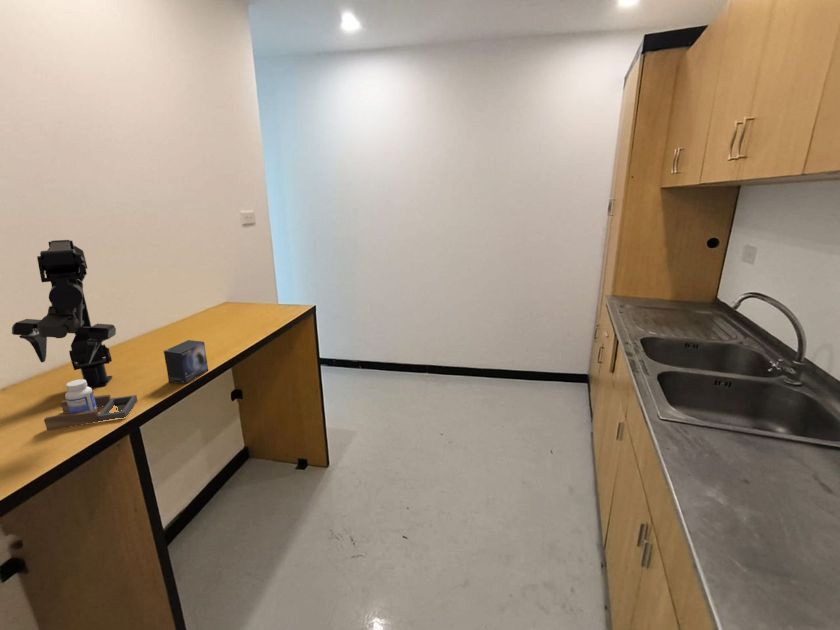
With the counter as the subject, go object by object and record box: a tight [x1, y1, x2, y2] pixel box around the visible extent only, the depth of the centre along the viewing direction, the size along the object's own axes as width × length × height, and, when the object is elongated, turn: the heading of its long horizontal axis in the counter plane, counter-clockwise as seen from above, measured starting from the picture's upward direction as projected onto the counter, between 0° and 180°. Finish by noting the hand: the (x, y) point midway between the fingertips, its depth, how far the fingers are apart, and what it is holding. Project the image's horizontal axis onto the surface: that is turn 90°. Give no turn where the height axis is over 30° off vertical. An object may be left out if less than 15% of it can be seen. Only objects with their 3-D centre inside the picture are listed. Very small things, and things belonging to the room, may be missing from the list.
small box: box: [163, 339, 209, 384], centre depth 127 cm, size 11×6×10 cm, turn 168°
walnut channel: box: [43, 394, 111, 431], centre depth 105 cm, size 10×10×3 cm
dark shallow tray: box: [98, 394, 138, 421], centre depth 108 cm, size 10×6×2 cm, turn 20°
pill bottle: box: [64, 378, 98, 414], centre depth 104 cm, size 5×5×10 cm
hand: (66, 362), depth 101 cm, fingers open, 9 cm apart
